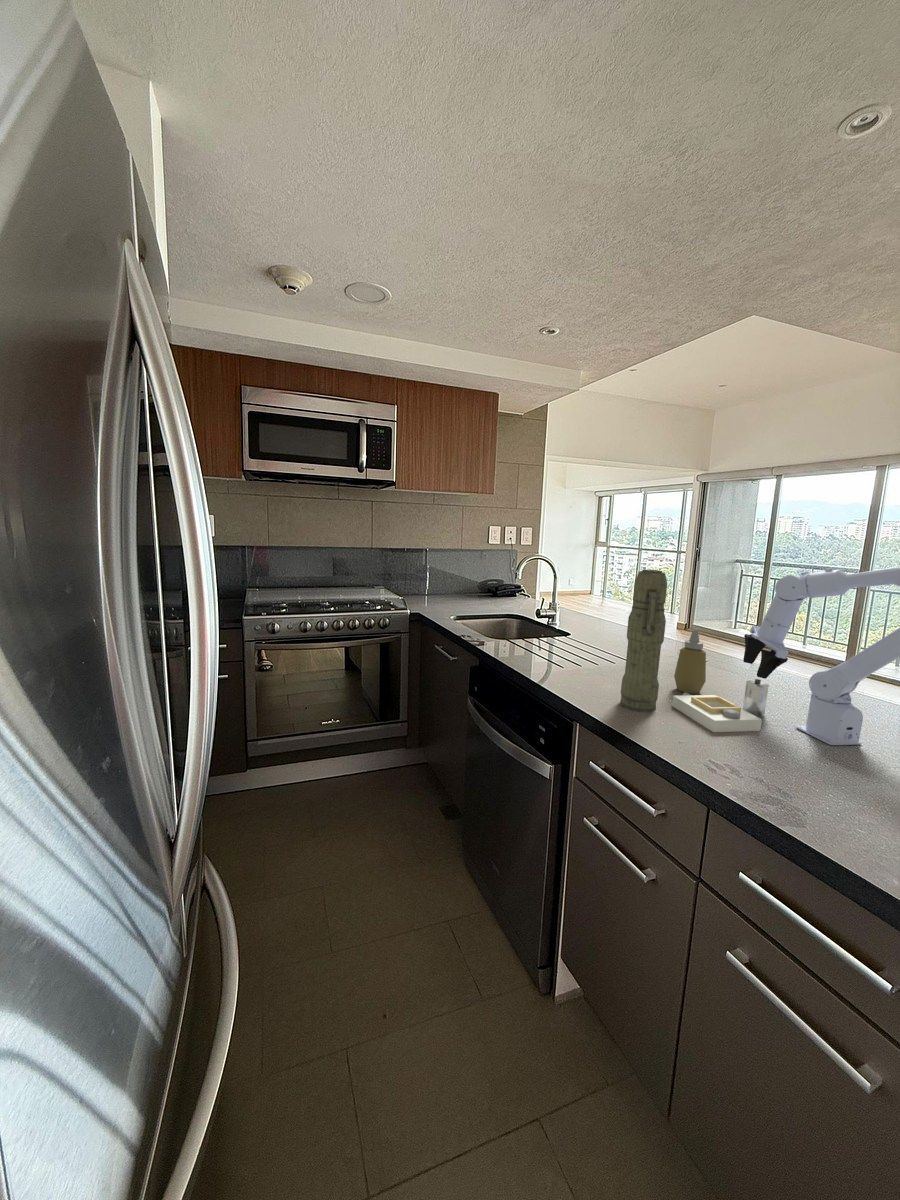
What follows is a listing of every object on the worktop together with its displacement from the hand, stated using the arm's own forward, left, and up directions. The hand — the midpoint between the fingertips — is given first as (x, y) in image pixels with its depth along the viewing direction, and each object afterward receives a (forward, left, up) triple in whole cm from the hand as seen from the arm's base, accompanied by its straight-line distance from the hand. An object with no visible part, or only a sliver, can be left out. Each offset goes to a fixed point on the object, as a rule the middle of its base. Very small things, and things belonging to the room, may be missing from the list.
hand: (754, 669), depth 125 cm
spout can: (-2, 0, -11) cm, 11 cm away
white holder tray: (-2, +13, -11) cm, 17 cm away
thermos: (+5, +28, -11) cm, 30 cm away
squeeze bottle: (+15, +7, -11) cm, 20 cm away
